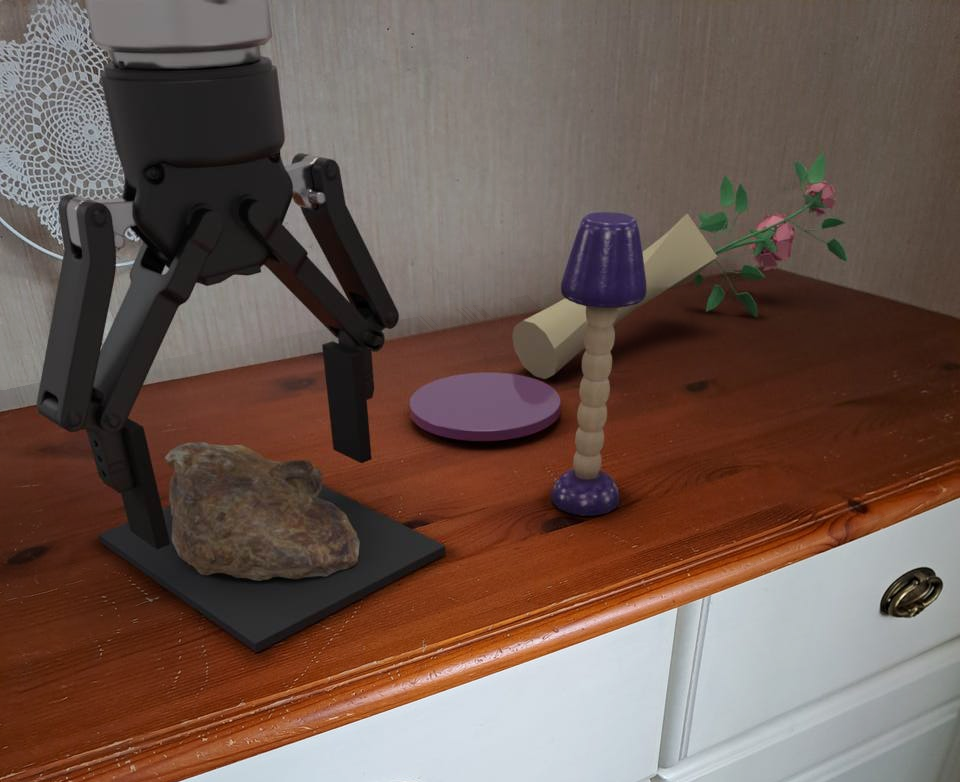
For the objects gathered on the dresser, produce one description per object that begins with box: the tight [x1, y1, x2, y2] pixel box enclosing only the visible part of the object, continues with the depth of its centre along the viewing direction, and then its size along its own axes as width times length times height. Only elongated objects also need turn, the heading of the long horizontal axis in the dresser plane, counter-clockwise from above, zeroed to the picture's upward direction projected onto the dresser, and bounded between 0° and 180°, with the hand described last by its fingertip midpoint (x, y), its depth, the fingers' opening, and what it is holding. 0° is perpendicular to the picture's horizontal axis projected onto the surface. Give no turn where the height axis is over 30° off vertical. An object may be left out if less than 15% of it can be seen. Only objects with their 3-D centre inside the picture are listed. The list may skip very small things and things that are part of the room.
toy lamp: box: [550, 211, 647, 517], centre depth 55 cm, size 5×5×17 cm
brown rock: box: [164, 441, 360, 581], centre depth 55 cm, size 10×12×5 cm
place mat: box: [98, 483, 447, 653], centre depth 56 cm, size 16×13×1 cm
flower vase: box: [511, 152, 849, 380], centre depth 84 cm, size 12×12×35 cm
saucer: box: [409, 372, 562, 442], centre depth 71 cm, size 11×11×1 cm
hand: (258, 493), depth 55 cm, fingers open, 13 cm apart
